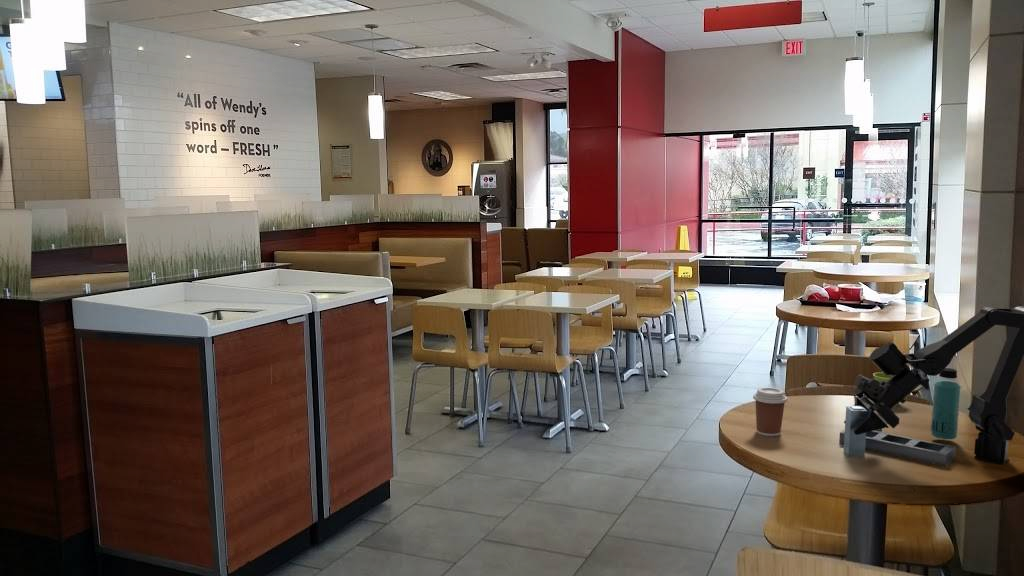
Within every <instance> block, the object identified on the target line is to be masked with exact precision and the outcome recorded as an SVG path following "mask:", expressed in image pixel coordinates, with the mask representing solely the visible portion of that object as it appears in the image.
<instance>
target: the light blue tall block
mask: <svg viewBox="0 0 1024 576" xmlns="http://www.w3.org/2000/svg"><path fill="white" fill-rule="evenodd" d="M867 412H868V411H867V410H866V409H865V408H863V407H861V406H854V405H846V406H845V420H844V421H845V423H844V424H845V425H844V430H845V436H844V444H843V452H844V453H845V454H846V456H847V457H857V458H858V457H859V458H860V457H861V458H865V457H866V455H865V454H866V449H865V443H866V433H862V434H859V435H856V434H855V433H854V430H855V429H856V428H857V427H858V426H859V425H860V423H861V422H862V421H863V420H864V419H865V418H866V417H867Z"/></svg>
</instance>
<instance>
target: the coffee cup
mask: <svg viewBox="0 0 1024 576" xmlns="http://www.w3.org/2000/svg"><path fill="white" fill-rule="evenodd" d="M752 397H753V398H752V399H753V400H754V401H755V421H756V423H755V424H756V433H757V434H759V435H762V436H765V437H777V436H780V435H781V432H782V424H783V417H784V411H785V410H784V409H785V403H787V402H788V396H786V394H785V391H784V390H782V389H780V388H776V387H765V386H764V387H759V388H758V389H757V391H756V392H755V393H754V394H753V396H752Z"/></svg>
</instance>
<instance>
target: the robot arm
mask: <svg viewBox="0 0 1024 576" xmlns="http://www.w3.org/2000/svg"><path fill="white" fill-rule="evenodd" d="M995 326H1003V327H1005V332H1006V333H1005V336H1006V339H1005V342H1004V344H1003V346H1002V350H1001V352H1000V355H999V358H998V360H997V361H996V365H995V367H994V370H993V373H992V374H991V378H990V380H989V381H988V382H989V383H988V384H987V387H986V390H985V391H984V393H983V394H981V395H980V396H977V395H973V396H972V399H971V404H970V406H969V407H968V408H967V410H968V411H969V412H968V418H969V419H970V422H972V423H973V424H974V426H975V430H977V431H979V433H978V434H977V435H978V436H977V437H976V438H975V439H974V452H973V454H974V457H973V458H974V459H976V460H980V461H986V462H990V463H996V464H1000V465H1004V464H1005V463H1006V462H1007V461H1008V460H1009V457H1010V456H1009V455H1008V454H1009V453H1008V451H1009V442H1010V441H1012V440H1013V438H1014V436H1015V432H1014V430H1013V429H1011V427H1010V426H1009V425H1008V424H1006V419H1007V414H1008V406H1007V399H1008V397H1009V393H1010V392H1011V391H1010V390H1011V388H1012V386H1013V383H1014V381H1015V379H1016V376H1017V374H1018V370H1019V368H1020V367H1021V364H1022V362H1023V359H1024V305H1020V306H1019V305H1018V306H1016V307H1013V308H1004V307H999V308H998V307H991V306H986V307H983V308H981V309H980V310H979V312H978V313H976V314H975V315H973V316H972V317H971V318H970V319H968V320H966V322H965V321H964V323H963V324H961V325H960V326H959V327H957V328H956V329H954V330H953V331H951V333H949V334H948V335H946V336H945V337H944V338H942V339H941V340H939V341H936V342H933V343H930V344H928V345H925V346H924V347H922V348H919V349H918V350H916V351H915V352H913V353H911V352H910V353H903V352H902V351H901V350H900V349H899V348H898V347H897V345H896V344H895V343H894V342H893V341H888V342H887V343H886V344H883V345H880V346H879V347H875V349H874V350H872V352H871V354H870V355H869V360H870V361H871V362H872V363H873V364H874V365H875V366H876V368H878V369H879V370H880V371H881V372H883V373H884V374H885V375H890V374H891V375H894V376H893V377H891V378H890V379H889V380H888V381H887V382H885V381H884V380H883V381H880V382H879V381H878V380H875V378H874V377H871V378H868V377H866V376H864V375H862V374H858V375H857V376H856V379H855V381H854V382H853V385H852V386H855V388H856V389H855V390H854V391H853V392H852V393H853V394H854V396H853V399H854V400H853V401H854V404H853V406H861V407H863V408H865V409H866V410H867V411H868V412H867V417H866V418H865V419H864V420H863V421H862V422H861V423H860V425H859V426H858V427H857V428H856V429H855V430H854V433H855V434H856V435H859V434H862V433H866V432H870V431H873V430H878V429H882V430H883V429H885V428H886V429H888V428H889V427H891V428H892V429H895V427H897V426H898V425H899V424H900V418H899V416H898V415H897V414H895V412H894V411H893V409H894V408H895V407H896V406H898V404H899V403H901V404H902V405H903V404H904V403H906V402H907V401H906V400H905V398H906V397H908V396H909V395H910V394H912V392H914V391H915V390H916V389H917V388H919V387H922V388H923V389H924V390H927V391H928V390H930V384H929V382H930V378H928V377H927V376H930V377H935V376H939V374H940V373H941V372H942V371H943V370H944V369H945V368H948V366H950V364H951V362H952V360H953V358H954V357H955V356H956V355H957V354H958V353H959V352H961V351H962V350H964V349H965V348H966V347H967V346H969V345H970V344H972V343H973V342H974V341H975V340H977V339H978V338H980V337H981V336H982V335H984V334H985V333H987V332H988V331H989V330H991V329H992V328H993V327H995ZM907 365H908V366H907ZM909 366H910V367H911V368H913V369H910V368H909ZM918 371H920V372H922V373H923V374H925V375H927V376H922V375H921V374H920V373H919V372H918ZM843 423H844V424H845V420H844V421H843Z"/></svg>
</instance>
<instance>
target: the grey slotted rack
mask: <svg viewBox="0 0 1024 576" xmlns="http://www.w3.org/2000/svg"><path fill="white" fill-rule="evenodd" d="M844 436H845V429H843V430H841V431H840V432H839V439H838V440H839V441H838V443H839V444H841V445H844ZM865 450H869V451H872V452H873V451H874V452H878V453H881V454H882V453H883V454H886V453H887V455H891V454H892V456H896V455H897V457H901V458H906V459H910V460H915V461H919V462H924V463H928V462H929V463H928V464H932V463H934V464H933V465H937V464H938V465H937V466H942V465H943V466H942V467H947V466H948V465H949V464H950V463H951V462H952V461H954V460H955V457H956V446H954V445H953V446H952V445H947V444H943V443H937V442H933V441H929V440H928V441H927V440H924V439H919V438H914V437H908V436H902V435H899V434H893V433H887V432H885V431H884V432H883V431H882V432H879V431H874V430H873V431H870V432H866V443H865ZM946 465H947V466H946Z"/></svg>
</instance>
